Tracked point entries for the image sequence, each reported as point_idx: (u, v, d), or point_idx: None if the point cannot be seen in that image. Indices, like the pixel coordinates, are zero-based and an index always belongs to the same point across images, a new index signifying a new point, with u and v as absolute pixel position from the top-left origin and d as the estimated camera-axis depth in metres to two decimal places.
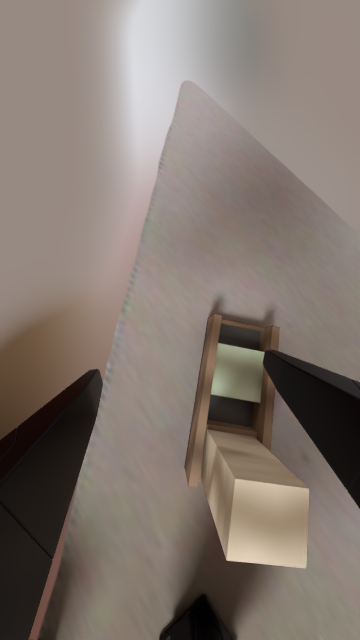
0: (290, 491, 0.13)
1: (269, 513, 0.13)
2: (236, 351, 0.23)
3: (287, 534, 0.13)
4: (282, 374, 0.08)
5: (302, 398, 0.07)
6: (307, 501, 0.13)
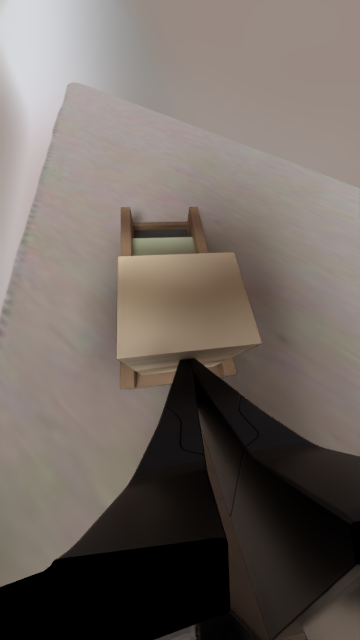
0: (207, 258, 0.09)
1: (180, 286, 0.08)
2: (159, 242, 0.20)
3: (216, 306, 0.08)
4: None
5: (203, 413, 0.07)
6: (237, 267, 0.09)
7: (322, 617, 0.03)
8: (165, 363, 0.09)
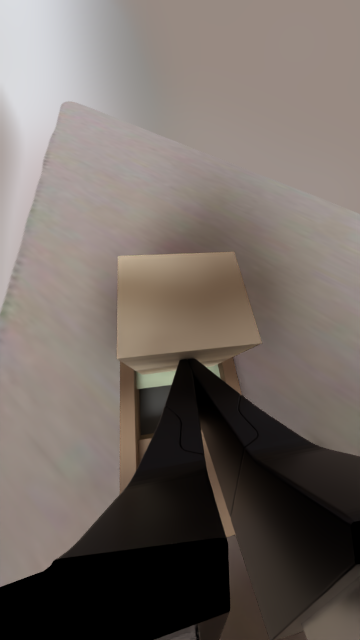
0: (207, 258, 0.09)
1: (180, 285, 0.08)
2: None
3: (216, 305, 0.08)
4: None
5: (203, 413, 0.07)
6: (237, 267, 0.09)
7: (322, 617, 0.03)
8: (165, 363, 0.09)
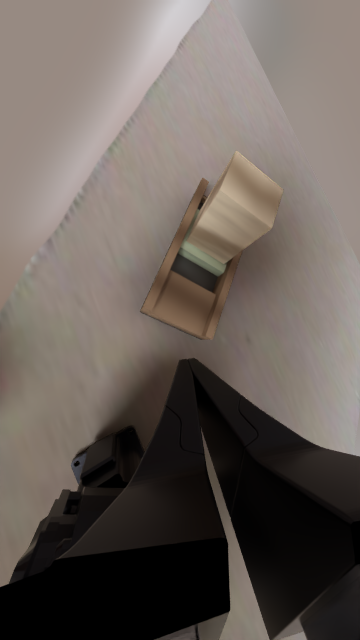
0: (271, 182, 0.17)
1: (254, 184, 0.16)
2: None
3: (263, 203, 0.16)
4: None
5: (203, 413, 0.07)
6: (280, 197, 0.17)
7: (322, 617, 0.03)
8: (220, 223, 0.18)
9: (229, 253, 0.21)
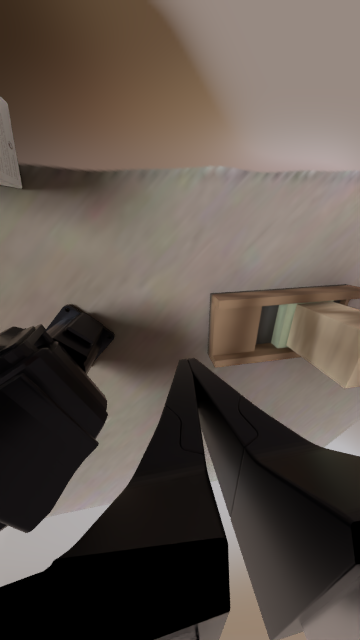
0: None
1: None
2: None
3: None
4: None
5: (203, 413, 0.07)
6: None
7: (322, 617, 0.03)
8: (331, 337, 0.17)
9: (300, 349, 0.21)
